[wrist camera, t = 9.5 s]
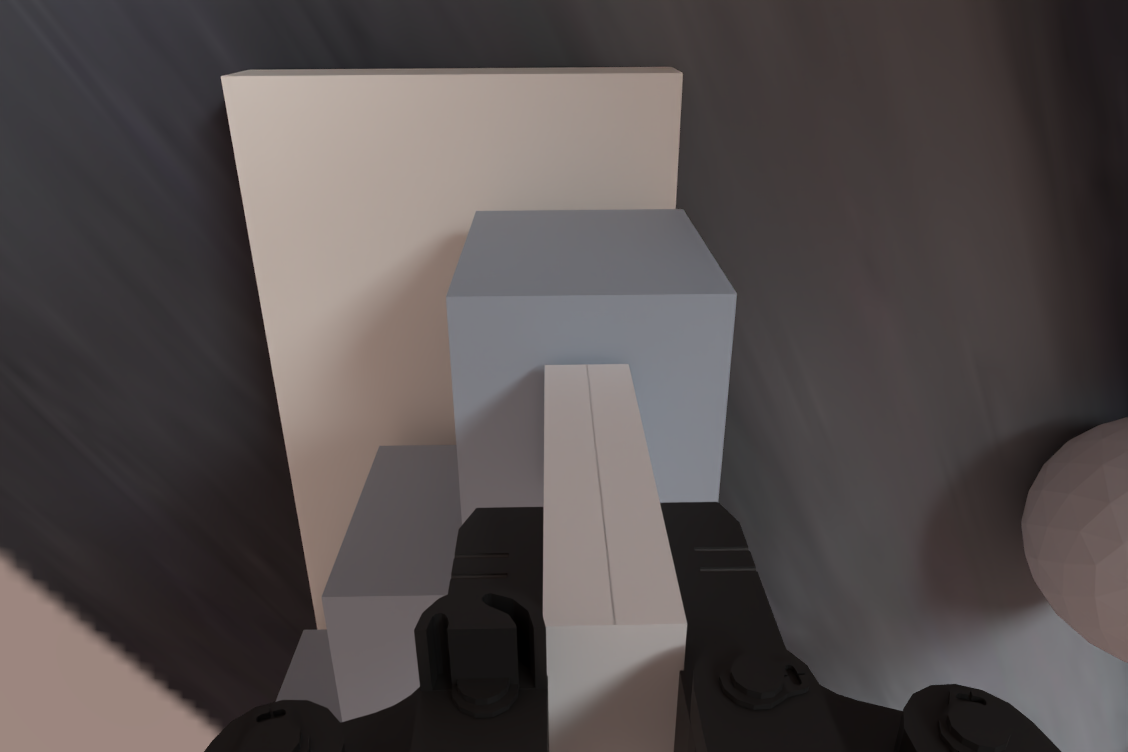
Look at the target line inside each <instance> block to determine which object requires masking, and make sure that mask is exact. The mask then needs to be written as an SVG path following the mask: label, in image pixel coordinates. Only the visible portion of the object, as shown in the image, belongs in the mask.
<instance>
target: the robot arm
mask: <svg viewBox="0 0 1128 752" xmlns="http://www.w3.org/2000/svg"><path fill="white" fill-rule="evenodd" d="M414 636H415V645H416V654H417V664H418V673H419V682H420V687H419V688H418V689H417V690H416V691H415V692H413V693H412V694H411V695H410V696H408V697H407V698H405V699H403V700H402V701H400V702H399V703H397V704H395V705H393V706H391V707H388V708H386V709H383V710H381V711H378V712H375V713H372V714H369V715H365V716H362V717H358V718H355V719H351V720H348V721H344V722H341V723H340V722H339V720H338V719H337V718H336V717H335V716H334V715H333V713H332V712H331V711H330V710H329V709H328V708H326V707H324V706H321V705H319V704H316V703H314V702H311V701H309V700H280V701H277V702H273V703H269V704H266V705H262V706H259V707H256V708H254V709H252V710H251V711H249V712H247V713H245V714H244V715H242V716H240V717H238V718H237V719H235V720H233V721H232V722H231V723H230V724H229V725H228V726H227V727H226V728H225V729H224V730H223V731H222V732H221V733H220V734H219V735H218V736H217V737H216V738H215V739H214V740H213V741H212V742H211V743H210V745H209V746H208V747H207V749H206V750H205V751H204V752H1061V751H1060V750H1059V749H1058V748H1057V747H1056V746H1055V745H1054V744H1053V743H1052V741H1051V740H1050V739H1049V738H1048V737H1047V736H1046V735H1045V734H1044V733H1043V732H1042V731H1041V730H1040V729H1039V728H1038V727H1037V726H1036V725H1035V724H1034V723H1033V722H1032V721H1031V720H1029V719H1028V718H1027V717H1026V716H1024V715H1023V714H1022V713H1021V712H1019V711H1018V710H1017V709H1016V708H1014V707H1013V706H1012V705H1011V704H1009V703H1008V702H1005V701H1003V700H1001V699H999V698H997V697H995V696H993V695H991V694H989V693H987V692H985V691H983V690H979V689H974V688H970V687H966V686H961V685H957V684H947V685H931V686H928V687H926V688H924V689H922V690H920V691H918V692H916V693H914V694H913V695H912V696H911V698H910V699H909V701H908V703H907V704H906V706H905V707H904V709H903V711H899V710H895V709H891V708H887V707H882V706H878V705H874V704H870V703H866V702H861V701H857V700H854V699H851V698H848V697H845V696H842V695H839V694H836V693H834V692H832V691H830V690H829V689H827V688H825V687H823V686H821V685H819V683H818V681H817V680H816V678H815V677H814V675H813V674H812V672H811V671H810V669H809V668H808V666H807V665H806V664H805V663H803V662H802V661H801V660H799V659H798V658H797V657H796V656H794V655H793V654H792V653H790V652H789V651H787V650H786V648H785V645H784V643H783V640H782V637H781V634H780V632H779V629H778V626H777V624H776V621H775V618H774V615H773V613H772V610H771V607H770V605H769V602H768V599H767V596H766V594H765V591H764V588H763V586H762V583H761V580H760V578H759V575H758V572H756V570H755V564H754V561H753V559H752V556H751V553H750V551H748V545H747V542H746V540H745V537H744V534H743V531H742V529H741V526H740V523H739V522H738V521H737V520H736V519H735V518H734V517H733V516H732V515H731V514H730V513H729V512H728V511H727V510H726V509H724V508H723V507H722V506H721V505H720V504H719V503H718V502H665V503H660V501H659V496H658V492H657V487H656V483H655V479H654V474H653V470H652V465H651V461H650V456H649V452H648V448H647V443H646V439H645V434H644V430H643V425H642V421H641V416H640V412H639V408H638V403H637V399H636V394H635V390H634V385H633V381H632V377H631V372H630V368H629V364H583V365H545V382H544V507H493V508H476V509H475V510H474V511H473V513H472V514H471V515H470V516H469V517H468V519H467V520H466V521H465V522H464V523H463V525H462V526H461V527H460V528H459V530H458V536H457V542H456V548H455V558H454V560H453V566H452V572H451V579H450V584H449V589H448V595H445V596H443V597H441V598H439V599H438V600H436V601H435V602H434V603H433V604H432V605H431V606H429V607H428V608H427V609H426V610H425V611H424V612H423V613H422V614H421V617H420V619H419V621H418V623H417V625H416V627H415V629H414Z"/></svg>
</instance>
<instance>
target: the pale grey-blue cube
mask: <svg viewBox="0 0 1128 752" xmlns="http://www.w3.org/2000/svg"><path fill="white" fill-rule="evenodd" d="M736 300H737V293H736V291H735V290H734V288H733V287H732V285H731V284H730V282H729V280H728V279H727V277H726V276H725V274H724V273H723V271H722V269H721V268H720V266H719V265H718V263H717V262H716V260H715V258H714V257H713V255H712V254H711V252H710V251H709V249H708V247H707V246H706V244H705V243H704V241H703V240H702V238H701V237H700V235H699V233H698V232H697V230H696V229H695V227H694V226H693V224H692V222H691V221H690V219H689V218H688V216H687V215H686V213H685V211H684V210H683V209H635V210H525V211H476V212H475V215H474V218H473V221H472V224H471V227H470V230H469V232H468V235H467V238H466V241H465V244H464V247H463V249H462V252H461V255H460V258H459V261H458V264H457V267H456V269H455V272H454V275H453V278H452V281H451V284H450V286H449V289H448V292H447V295H446V306H447V320H448V334H449V348H450V362H451V376H452V390H453V404H454V418H455V432H456V446H457V460H458V474H459V488H460V502H461V516H462V525H463V523H464V522H465V521H466V520H467V519H468V517H469V516H470V515H471V514H472V513H473V511H474V510H475V509H476V508H493V507H544V382H545V365H583V364H629V368H630V372H631V377H632V381H633V385H634V390H635V394H636V399H637V403H638V408H639V412H640V416H641V421H642V425H643V430H644V434H645V439H646V443H647V448H648V452H649V456H650V461H651V465H652V470H653V474H654V479H655V483H656V487H657V492H658V496H659V501H660V503H665V502H718V499H719V488H720V477H721V466H722V455H723V443H724V432H725V421H726V410H727V399H728V388H729V377H730V366H731V355H732V344H733V333H734V322H735V311H736Z"/></svg>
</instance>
